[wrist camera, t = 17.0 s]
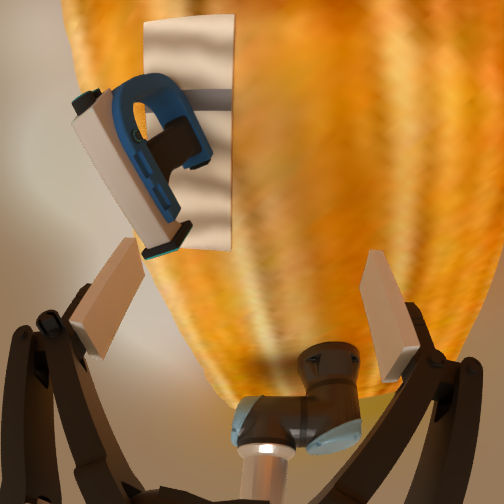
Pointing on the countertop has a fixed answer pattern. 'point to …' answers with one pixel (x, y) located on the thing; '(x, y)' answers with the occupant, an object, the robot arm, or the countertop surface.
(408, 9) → the countertop surface
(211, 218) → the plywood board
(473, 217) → the countertop surface
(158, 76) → the handheld scanner
